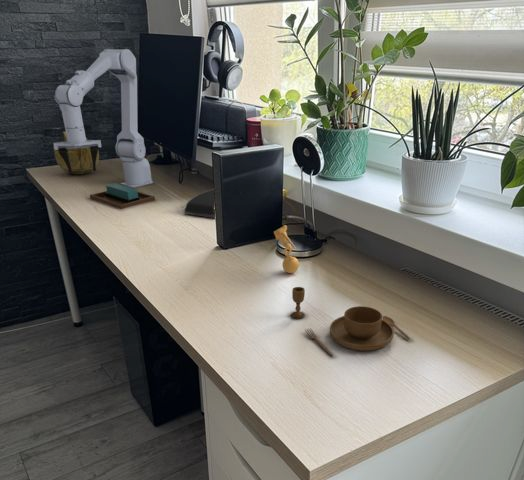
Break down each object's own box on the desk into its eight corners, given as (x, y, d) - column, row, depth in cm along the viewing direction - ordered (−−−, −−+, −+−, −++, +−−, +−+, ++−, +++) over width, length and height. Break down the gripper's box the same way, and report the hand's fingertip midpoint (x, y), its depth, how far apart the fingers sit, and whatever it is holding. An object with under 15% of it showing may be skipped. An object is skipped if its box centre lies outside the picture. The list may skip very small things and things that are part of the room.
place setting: (335, 363, 91) (338, 334, 88) (286, 314, 106) (286, 288, 103) (417, 342, 96) (422, 314, 93) (359, 298, 112) (361, 273, 109)
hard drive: (181, 214, 163) (180, 201, 161) (213, 198, 178) (212, 186, 176) (217, 219, 158) (216, 206, 156) (246, 203, 173) (246, 190, 171)
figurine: (307, 276, 122) (309, 227, 116) (285, 282, 119) (286, 232, 113) (288, 264, 128) (288, 217, 122) (267, 270, 126) (266, 221, 119)
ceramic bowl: (110, 175, 207) (103, 135, 199) (67, 182, 199) (59, 140, 191) (92, 165, 222) (85, 127, 214) (51, 171, 214) (43, 132, 206)
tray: (123, 191, 187) (122, 186, 186) (155, 200, 176) (154, 196, 176) (90, 199, 179) (89, 194, 178) (121, 209, 168) (120, 205, 167)
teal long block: (105, 196, 180) (103, 185, 178) (116, 194, 183) (114, 182, 181) (129, 204, 172) (127, 192, 170) (139, 201, 175) (138, 189, 173)
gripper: (49, 130, 160) (59, 175, 167) (97, 128, 163) (105, 172, 170) (51, 126, 166) (60, 170, 173) (98, 124, 169) (105, 167, 176)
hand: (82, 171), depth 172 cm, fingers open, 7 cm apart
